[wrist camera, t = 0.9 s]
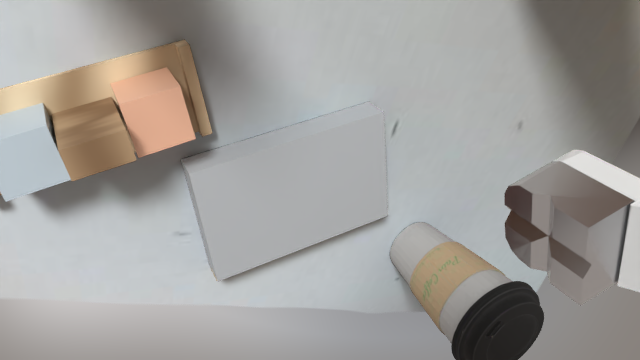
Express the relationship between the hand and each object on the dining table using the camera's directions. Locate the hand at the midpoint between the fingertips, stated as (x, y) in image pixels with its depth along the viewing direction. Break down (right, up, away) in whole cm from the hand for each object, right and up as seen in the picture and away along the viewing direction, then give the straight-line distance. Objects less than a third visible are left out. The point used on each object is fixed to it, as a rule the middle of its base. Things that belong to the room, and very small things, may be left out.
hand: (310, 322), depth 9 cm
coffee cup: (+10, -5, +52) cm, 53 cm away
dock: (-3, +2, +41) cm, 41 cm away
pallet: (-16, +7, +31) cm, 36 cm away
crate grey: (-20, +5, +29) cm, 35 cm away
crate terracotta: (-12, +8, +31) cm, 34 cm away
